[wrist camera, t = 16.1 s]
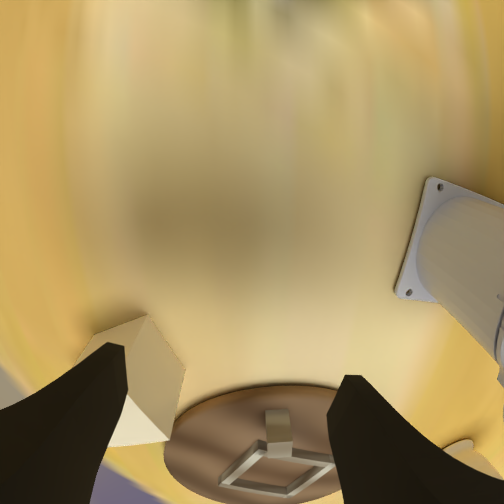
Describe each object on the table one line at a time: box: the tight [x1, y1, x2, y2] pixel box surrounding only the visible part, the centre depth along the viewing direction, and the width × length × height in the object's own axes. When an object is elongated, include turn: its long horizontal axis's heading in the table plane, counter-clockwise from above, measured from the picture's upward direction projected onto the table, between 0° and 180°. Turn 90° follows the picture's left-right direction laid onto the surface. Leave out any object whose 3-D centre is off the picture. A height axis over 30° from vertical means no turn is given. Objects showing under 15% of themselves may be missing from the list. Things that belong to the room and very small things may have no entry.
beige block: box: [72, 314, 185, 447], centre depth 17 cm, size 8×5×6 cm, turn 113°
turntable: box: [164, 385, 341, 504], centre depth 22 cm, size 20×20×4 cm
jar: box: [443, 439, 503, 480], centre depth 21 cm, size 11×10×15 cm
